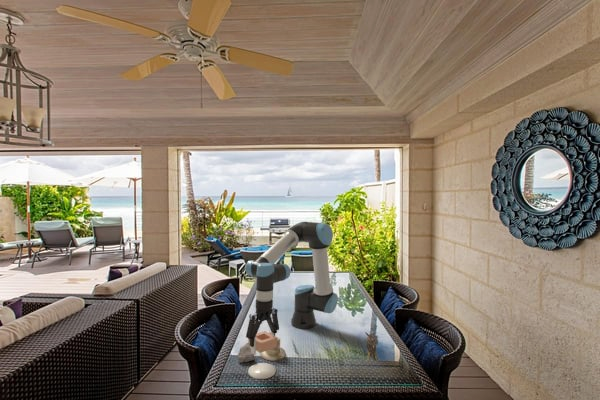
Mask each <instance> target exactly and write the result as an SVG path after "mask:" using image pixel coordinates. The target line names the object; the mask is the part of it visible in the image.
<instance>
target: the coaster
mask: <svg viewBox="0 0 600 400" xmlns="http://www.w3.org/2000/svg"><path fill="white" fill-rule="evenodd" d="M247 371H248V372H247V374H248V375H249V376H250V377H251V378H252V379H256V380H266V379H269V378H270V379H271V377H274V376H275V374H276V367H275V366H274V365H273V364H270V363H266V362H259V363H255V364H253V365H252V364H251V366H250V367H249V368H248V370H247Z"/></svg>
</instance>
